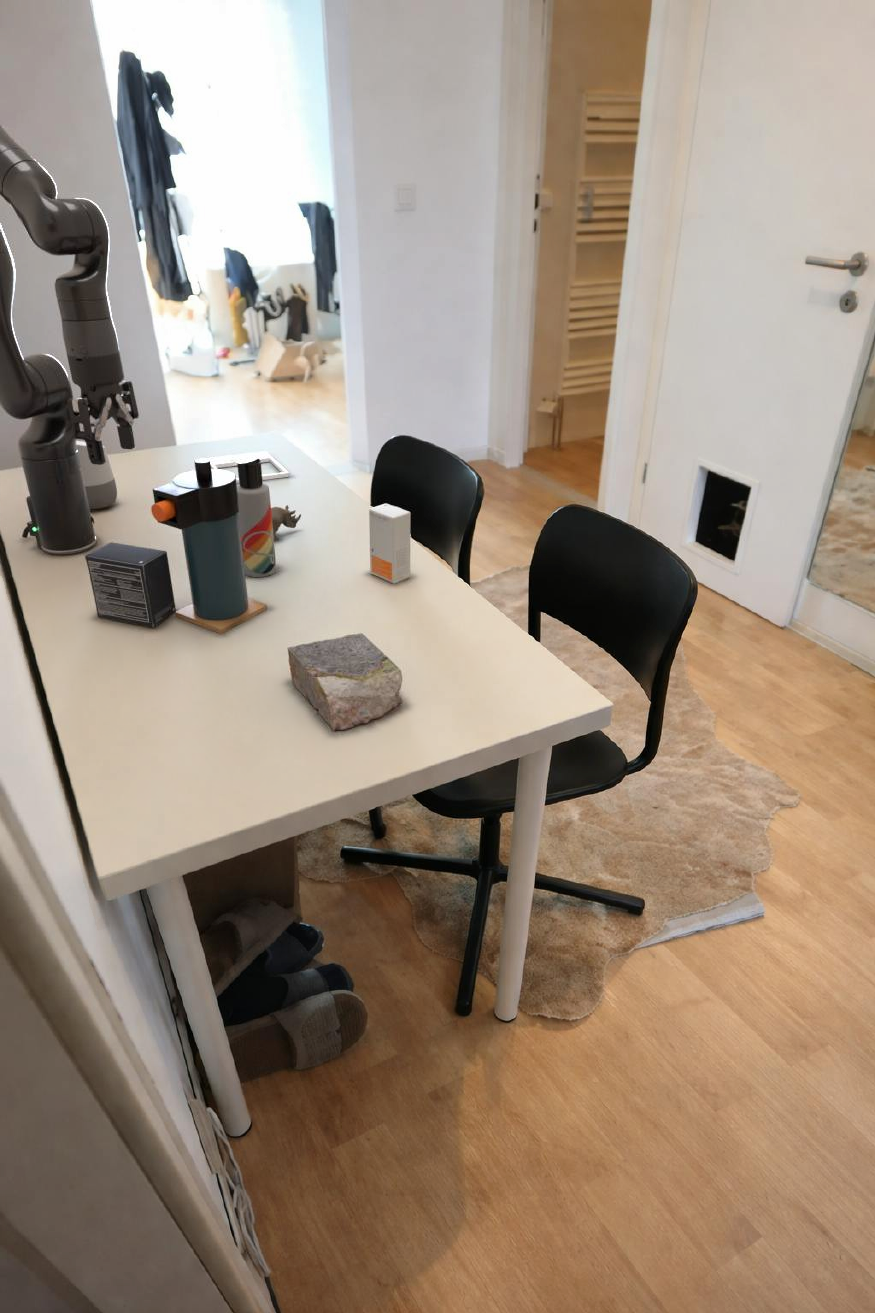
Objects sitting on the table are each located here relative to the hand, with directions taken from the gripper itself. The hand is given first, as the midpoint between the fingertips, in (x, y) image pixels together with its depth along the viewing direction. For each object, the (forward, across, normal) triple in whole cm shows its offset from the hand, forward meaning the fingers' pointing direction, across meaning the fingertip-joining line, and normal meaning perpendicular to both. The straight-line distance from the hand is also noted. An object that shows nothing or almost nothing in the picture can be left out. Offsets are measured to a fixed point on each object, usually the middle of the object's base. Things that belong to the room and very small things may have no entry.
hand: (113, 455), depth 132 cm
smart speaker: (+20, -27, -25) cm, 42 cm away
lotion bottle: (+21, -6, +20) cm, 30 cm away
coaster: (+21, +10, +21) cm, 31 cm away
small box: (+21, +14, +9) cm, 26 cm away
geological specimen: (+21, +28, +48) cm, 59 cm away
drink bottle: (+20, +12, +21) cm, 31 cm away
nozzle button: (+3, +17, +19) cm, 26 cm away
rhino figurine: (+21, -20, +16) cm, 33 cm away
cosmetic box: (+21, -10, +43) cm, 49 cm away
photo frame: (+20, -57, -6) cm, 61 cm away
